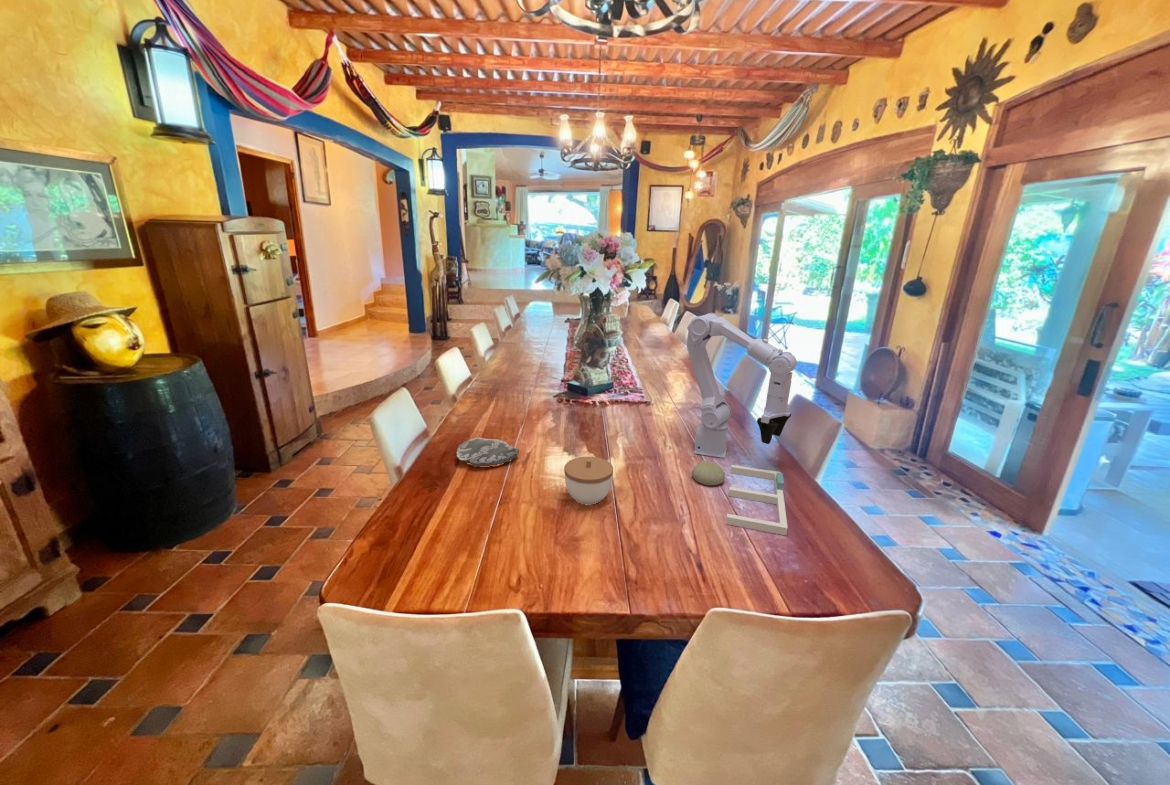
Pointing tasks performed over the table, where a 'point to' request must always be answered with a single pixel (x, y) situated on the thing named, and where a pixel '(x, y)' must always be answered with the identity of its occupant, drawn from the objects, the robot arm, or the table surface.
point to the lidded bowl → (588, 479)
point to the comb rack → (762, 497)
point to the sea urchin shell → (708, 473)
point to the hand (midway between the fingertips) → (770, 439)
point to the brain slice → (486, 452)
